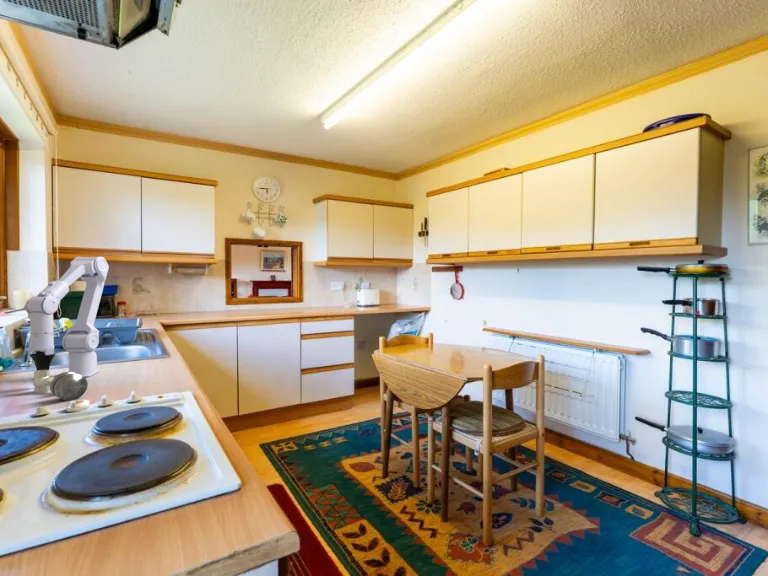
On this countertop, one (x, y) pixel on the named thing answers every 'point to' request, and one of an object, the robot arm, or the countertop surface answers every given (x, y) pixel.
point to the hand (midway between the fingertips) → (43, 374)
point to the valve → (42, 381)
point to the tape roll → (79, 402)
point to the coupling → (68, 386)
